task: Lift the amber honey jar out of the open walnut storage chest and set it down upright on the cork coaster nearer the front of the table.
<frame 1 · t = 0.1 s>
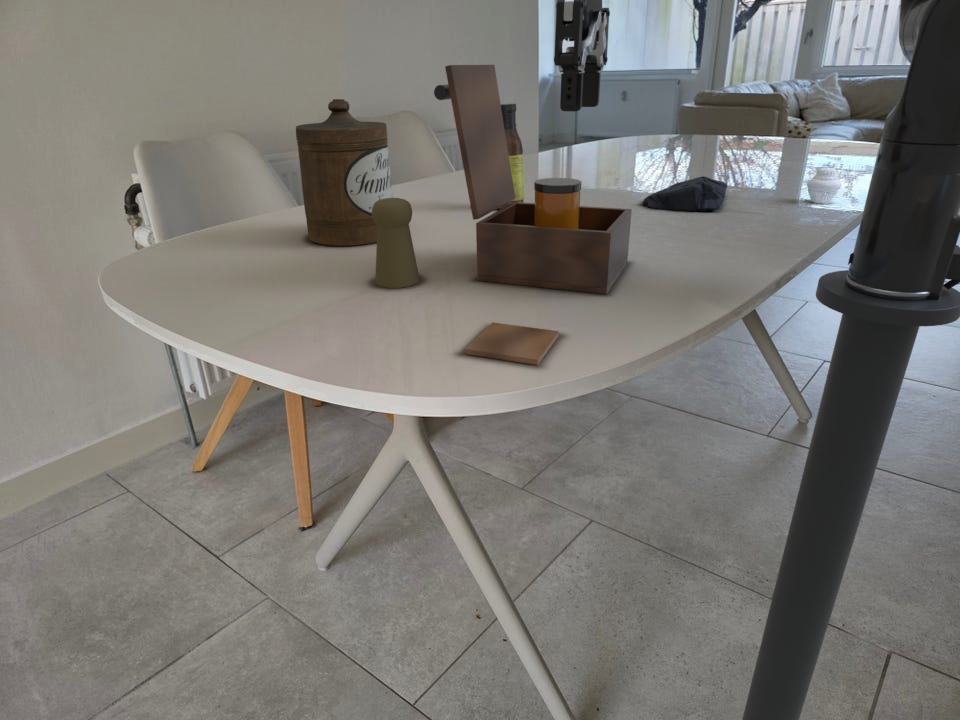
hand: (580, 108, 70), 22 cm above the table, tool pointing down, fingers open, 8 cm apart
wooden container: (352, 236, 108), on the table
pepper shaker: (397, 282, 84), on the table
coaster: (513, 344, 64), on the table
dark slate chunk: (689, 201, 130), on the table
chest: (554, 271, 87), on the table
lid: (470, 142, 84), point 17 cm above the table, hinge at 100.0°
white vase: (819, 203, 126), on the table
honey jar: (554, 265, 87), point 1 cm above the table, touching chest
sauce bottle: (508, 209, 127), on the table
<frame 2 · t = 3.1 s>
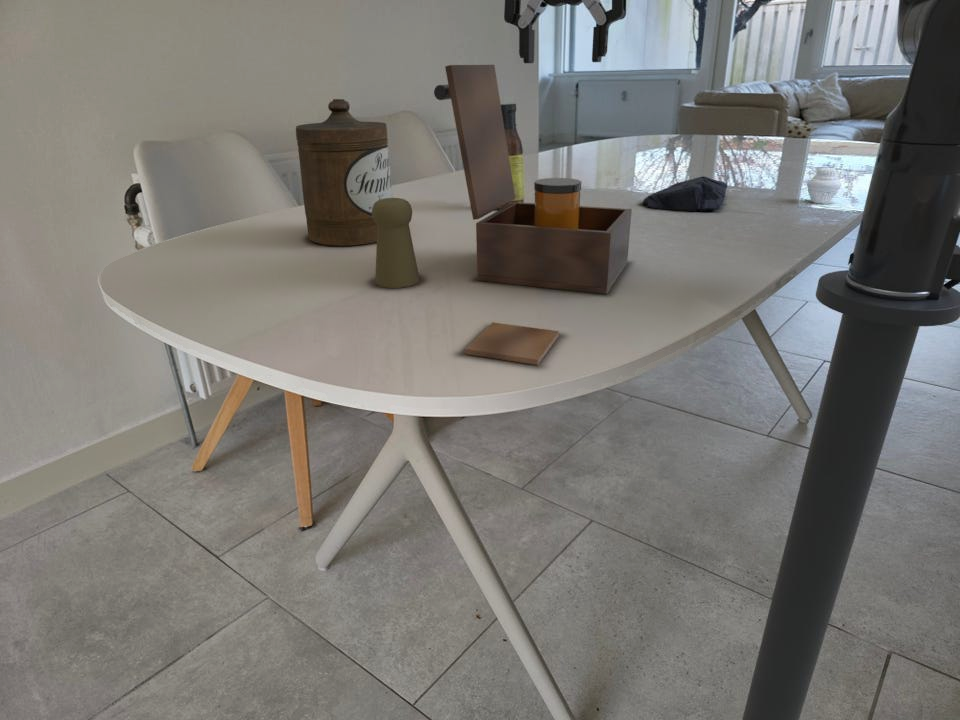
hand: (562, 62, 76), 26 cm above the table, tool pointing down, fingers open, 8 cm apart
nothing on the table moved.
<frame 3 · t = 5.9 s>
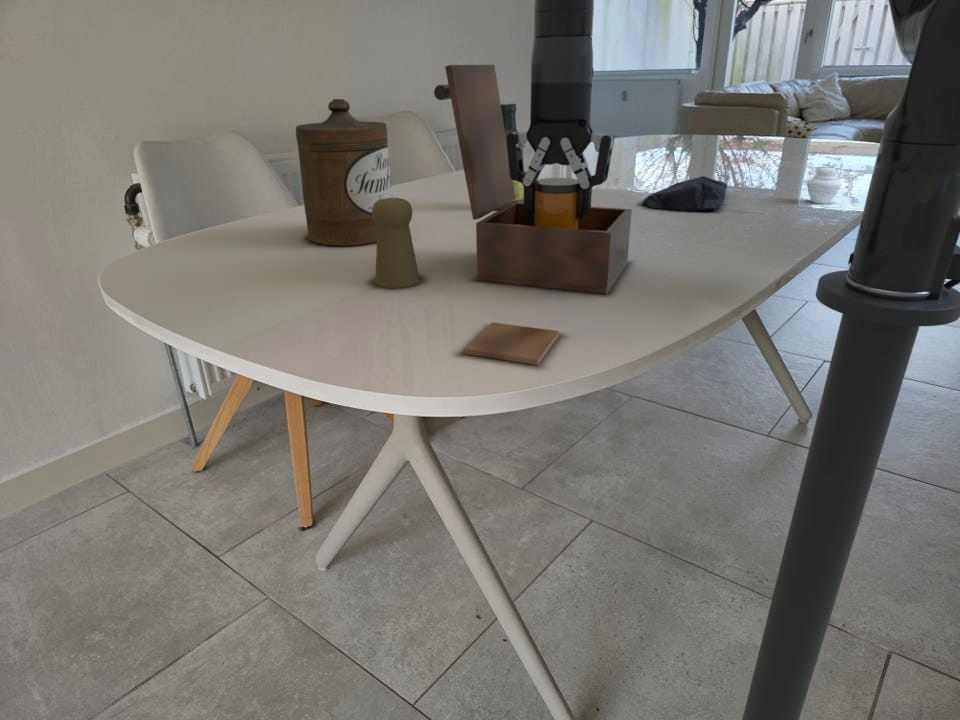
hand: (556, 214, 84), 8 cm above the table, tool pointing down, fingers closed on honey jar, 6 cm apart
honey jar: (554, 265, 87), point 1 cm above the table, touching chest, gripper
everything else where it was.
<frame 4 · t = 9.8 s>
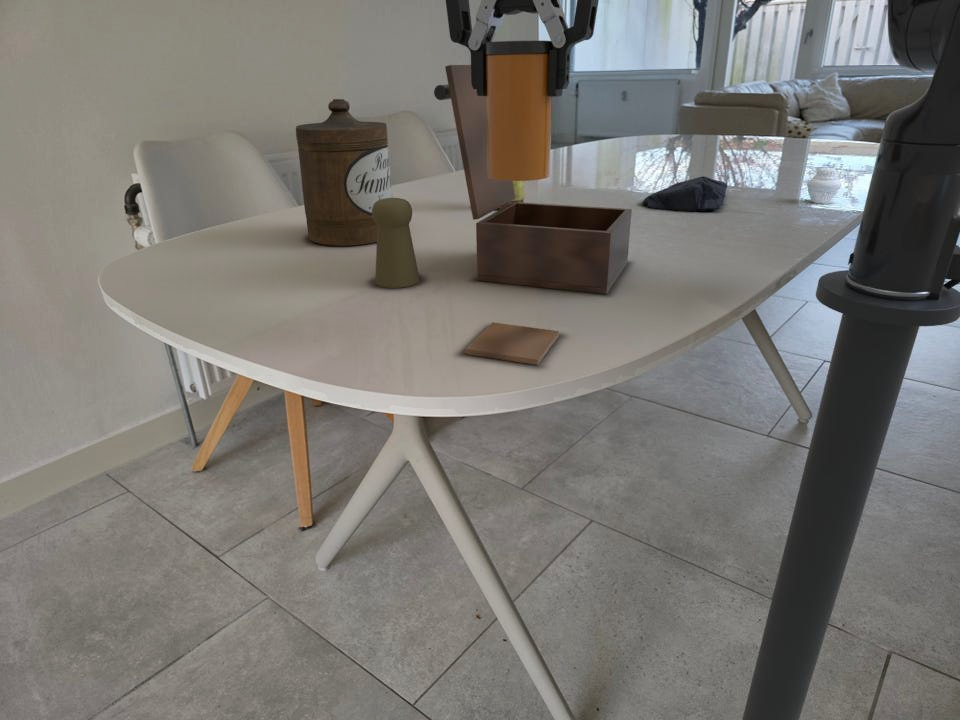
hand: (519, 95, 57), 24 cm above the table, tool pointing down, fingers closed on honey jar, 6 cm apart
honey jar: (518, 176, 60), point 17 cm above the table, touching gripper
everything else where it was.
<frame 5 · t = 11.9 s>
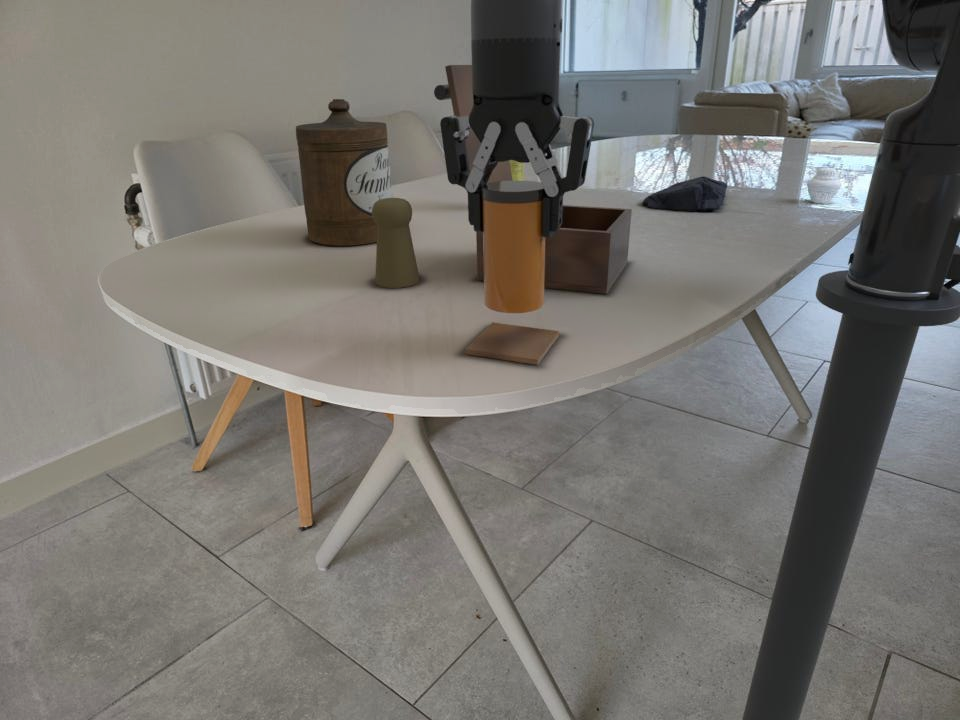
hand: (514, 232, 59), 12 cm above the table, tool pointing down, fingers closed on honey jar, 6 cm apart
honey jar: (514, 302, 62), point 5 cm above the table, touching gripper
everything else where it was.
when the fingers open (8 cm above the table, at t = 13.7 s): honey jar stays where it is, resting on coaster.
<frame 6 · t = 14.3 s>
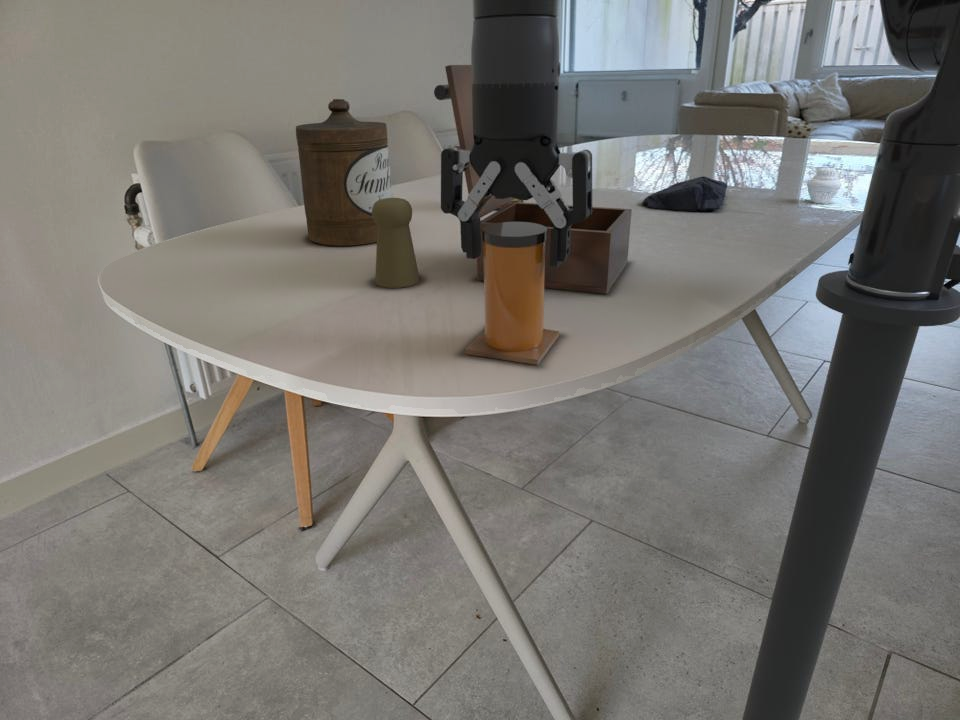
hand: (514, 261, 60), 9 cm above the table, tool pointing down, fingers open, 8 cm apart
honey jar: (514, 339, 64), point 1 cm above the table, touching coaster
everything else where it was.
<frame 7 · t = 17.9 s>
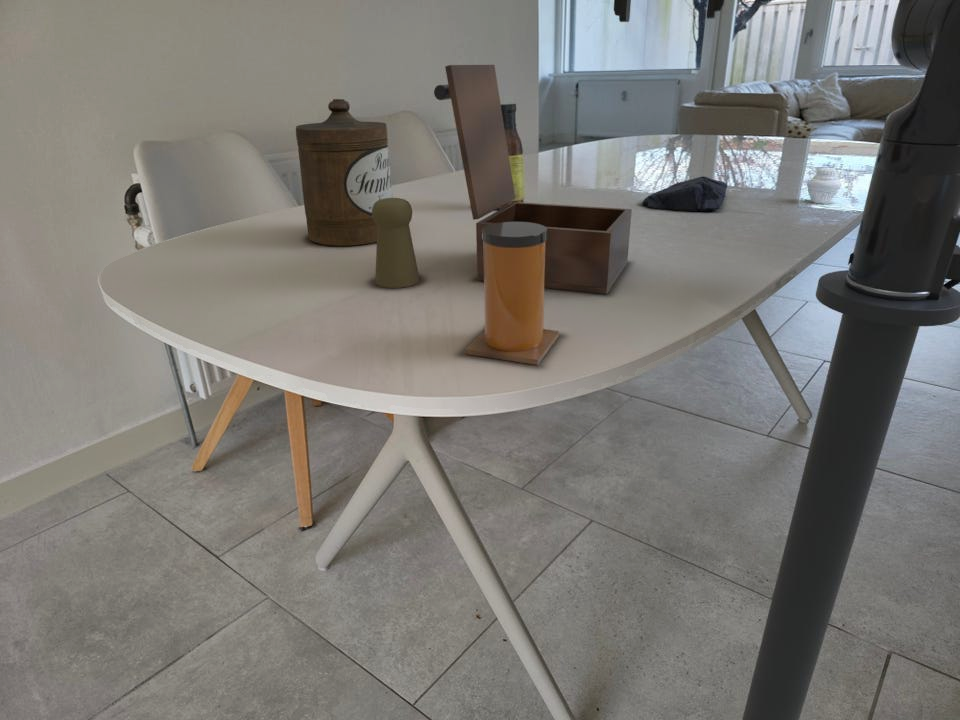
hand: (666, 19, 63), 30 cm above the table, tool pointing down, fingers open, 8 cm apart
nothing on the table moved.
at the end: honey jar 0.0 cm off-centre on the coaster, point 0.6 cm above the coaster's base; honey jar tilted 0°; lid at +100° (first picture: +100°) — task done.
